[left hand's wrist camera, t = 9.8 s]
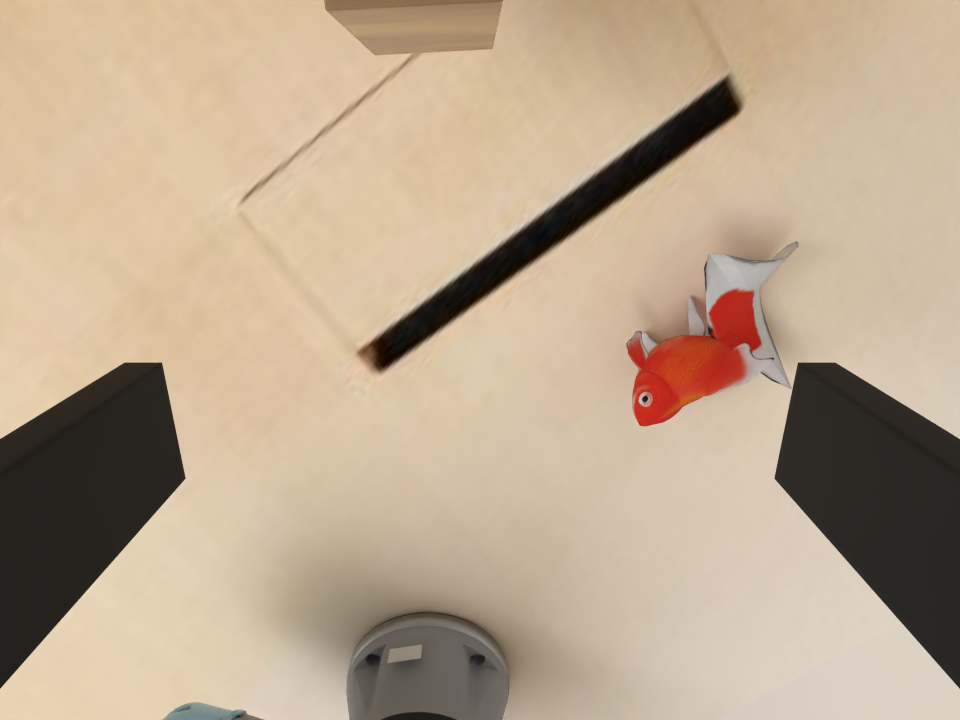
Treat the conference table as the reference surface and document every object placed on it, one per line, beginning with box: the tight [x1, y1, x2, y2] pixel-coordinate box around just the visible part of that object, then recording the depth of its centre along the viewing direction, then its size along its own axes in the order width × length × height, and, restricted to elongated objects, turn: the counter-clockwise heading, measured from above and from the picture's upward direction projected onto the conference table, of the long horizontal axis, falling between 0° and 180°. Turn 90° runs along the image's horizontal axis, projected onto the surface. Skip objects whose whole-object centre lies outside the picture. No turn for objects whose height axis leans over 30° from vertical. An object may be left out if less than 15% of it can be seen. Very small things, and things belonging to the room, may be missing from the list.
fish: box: [627, 241, 798, 426], centre depth 40 cm, size 11×16×10 cm
